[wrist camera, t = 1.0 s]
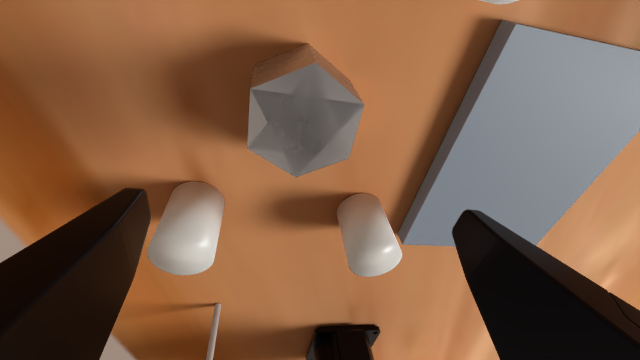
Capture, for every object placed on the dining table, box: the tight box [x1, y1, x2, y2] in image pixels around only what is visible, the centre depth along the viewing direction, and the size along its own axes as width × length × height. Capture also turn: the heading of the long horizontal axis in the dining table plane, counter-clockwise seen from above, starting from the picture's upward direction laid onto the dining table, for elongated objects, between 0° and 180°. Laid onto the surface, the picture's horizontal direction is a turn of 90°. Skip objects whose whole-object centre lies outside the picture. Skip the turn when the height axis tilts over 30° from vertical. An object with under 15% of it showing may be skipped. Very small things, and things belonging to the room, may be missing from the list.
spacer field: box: [147, 0, 518, 277], centre depth 13 cm, size 17×13×4 cm
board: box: [398, 20, 640, 246], centre depth 18 cm, size 14×11×1 cm
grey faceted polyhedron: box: [247, 44, 364, 177], centre depth 13 cm, size 5×4×3 cm
